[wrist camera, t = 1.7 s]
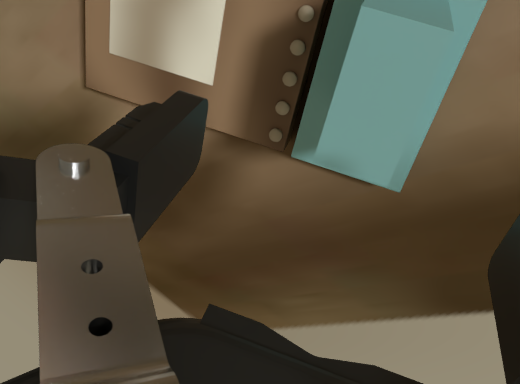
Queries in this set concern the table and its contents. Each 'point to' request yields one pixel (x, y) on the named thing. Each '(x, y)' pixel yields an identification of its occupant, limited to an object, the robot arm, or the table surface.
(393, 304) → the table surface
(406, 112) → the stub
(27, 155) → the table surface
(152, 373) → the robot arm
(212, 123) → the board
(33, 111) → the table surface
